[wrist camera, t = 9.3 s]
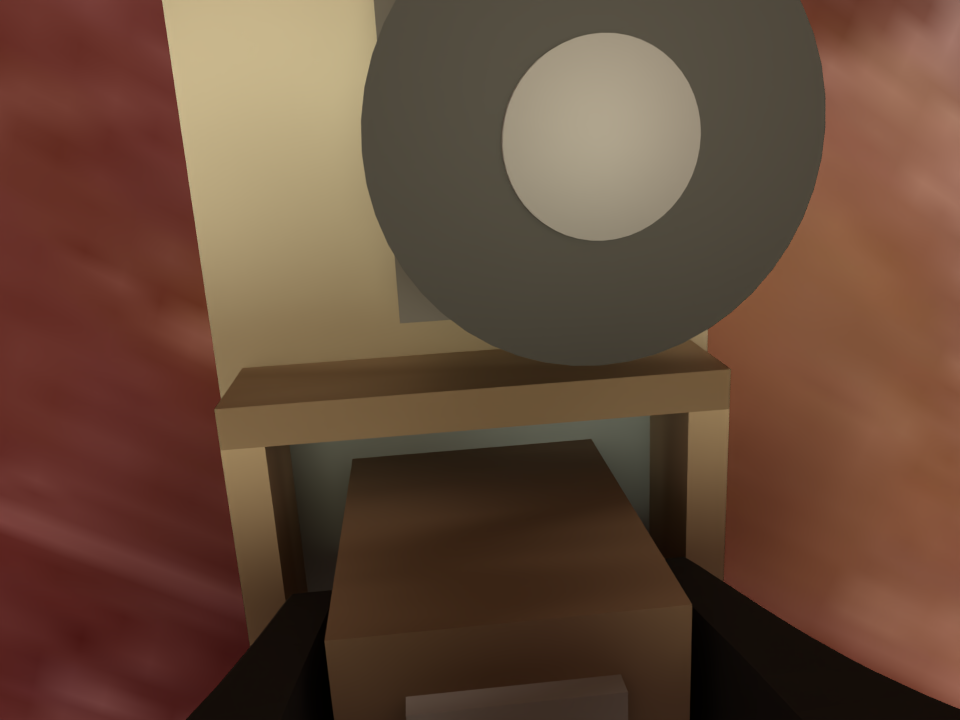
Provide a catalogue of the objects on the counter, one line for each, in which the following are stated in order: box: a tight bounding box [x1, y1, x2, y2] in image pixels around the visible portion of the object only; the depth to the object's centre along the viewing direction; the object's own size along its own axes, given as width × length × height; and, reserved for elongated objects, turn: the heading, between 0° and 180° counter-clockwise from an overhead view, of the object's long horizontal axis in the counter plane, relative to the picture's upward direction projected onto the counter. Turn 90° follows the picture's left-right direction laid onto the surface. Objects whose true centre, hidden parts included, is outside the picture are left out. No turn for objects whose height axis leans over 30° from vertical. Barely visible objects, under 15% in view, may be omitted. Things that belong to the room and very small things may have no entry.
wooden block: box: [325, 439, 692, 720], centre depth 12 cm, size 4×4×5 cm
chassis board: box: [162, 0, 731, 646], centre depth 13 cm, size 13×8×4 cm, turn 3°
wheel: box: [361, 0, 825, 366], centre depth 10 cm, size 5×5×4 cm
